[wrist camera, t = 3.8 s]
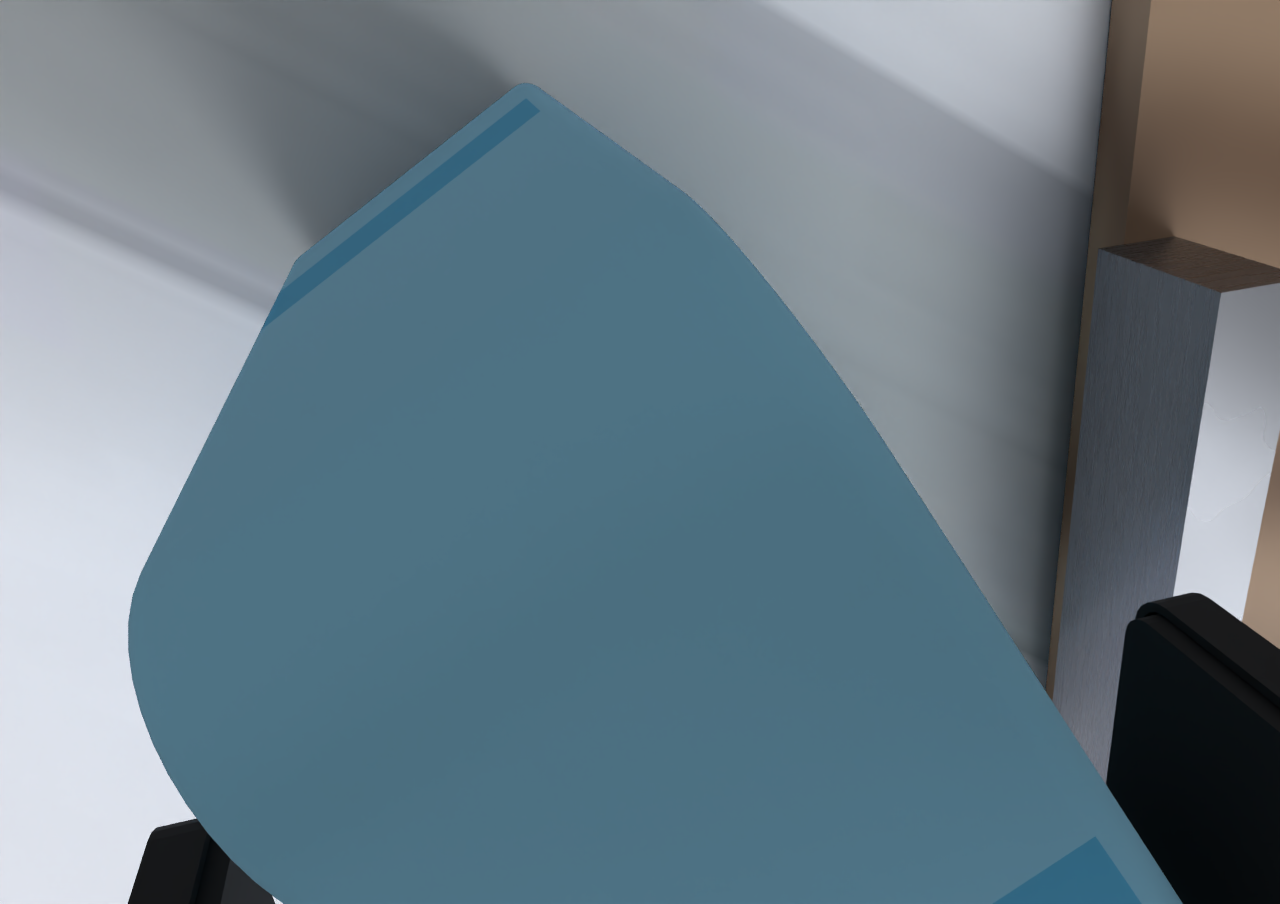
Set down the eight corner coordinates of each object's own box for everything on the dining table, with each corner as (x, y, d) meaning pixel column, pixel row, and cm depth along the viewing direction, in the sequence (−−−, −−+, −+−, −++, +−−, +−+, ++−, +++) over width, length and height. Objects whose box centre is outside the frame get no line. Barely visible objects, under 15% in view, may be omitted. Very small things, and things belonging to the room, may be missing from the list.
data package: (296, 244, 16) (25, 761, 5) (520, 67, 15) (749, 217, 5) (699, 688, 21) (988, 1400, 10) (873, 566, 21) (1362, 1174, 10)
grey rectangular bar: (1097, 248, 17) (1221, 292, 15) (1174, 236, 18) (1310, 277, 15) (1042, 796, 23) (1124, 901, 20) (1101, 782, 23) (1189, 884, 21)
